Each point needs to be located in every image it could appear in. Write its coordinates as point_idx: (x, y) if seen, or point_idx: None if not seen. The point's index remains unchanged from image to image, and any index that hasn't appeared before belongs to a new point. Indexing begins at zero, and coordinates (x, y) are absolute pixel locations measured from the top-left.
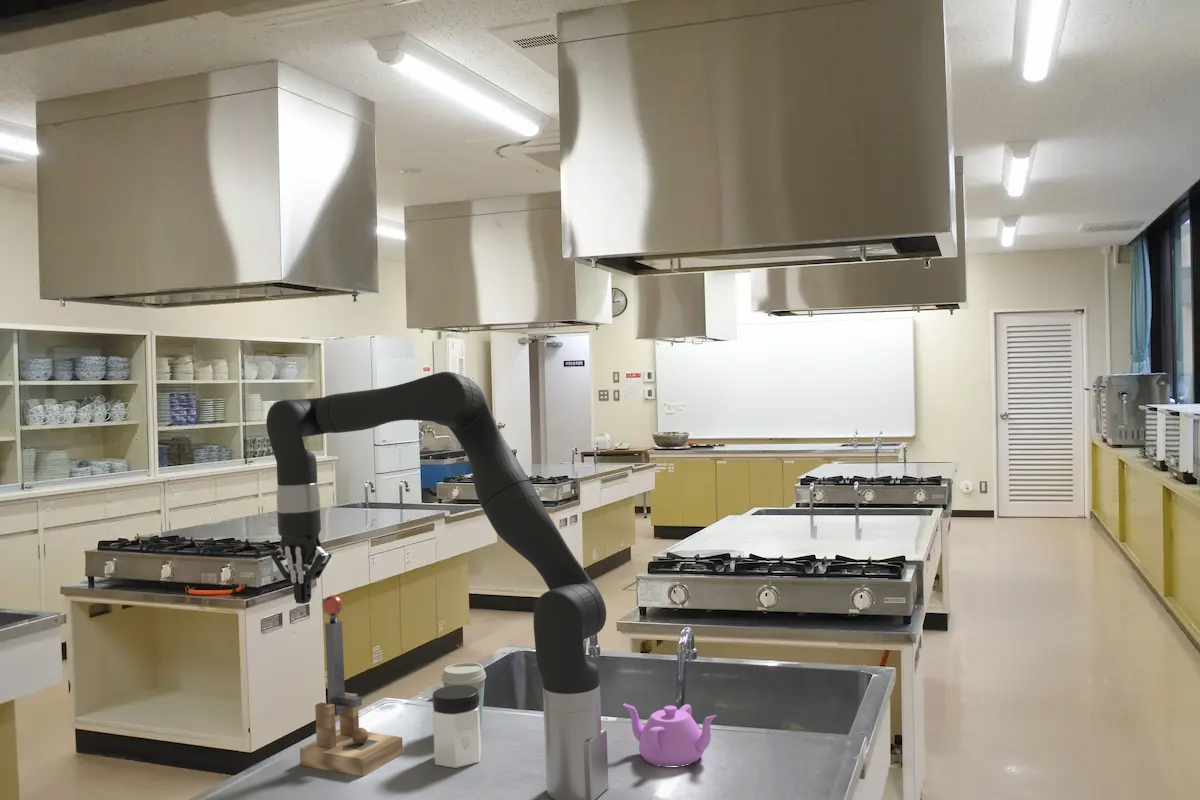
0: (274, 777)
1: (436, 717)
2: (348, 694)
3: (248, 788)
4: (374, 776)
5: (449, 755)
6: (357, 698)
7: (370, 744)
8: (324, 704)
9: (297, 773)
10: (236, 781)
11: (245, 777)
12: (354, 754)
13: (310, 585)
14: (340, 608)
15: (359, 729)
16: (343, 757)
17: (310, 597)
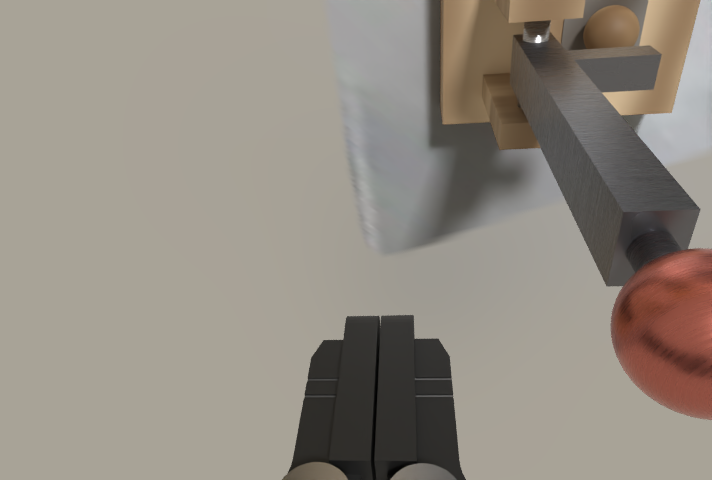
0: (433, 180)
1: None
2: (550, 6)
3: (424, 237)
4: (684, 81)
5: None
6: (653, 73)
7: (641, 18)
8: (530, 134)
9: (468, 144)
10: (370, 224)
11: (370, 203)
12: (628, 95)
13: (457, 448)
14: None
15: (622, 46)
16: None
17: (445, 356)
